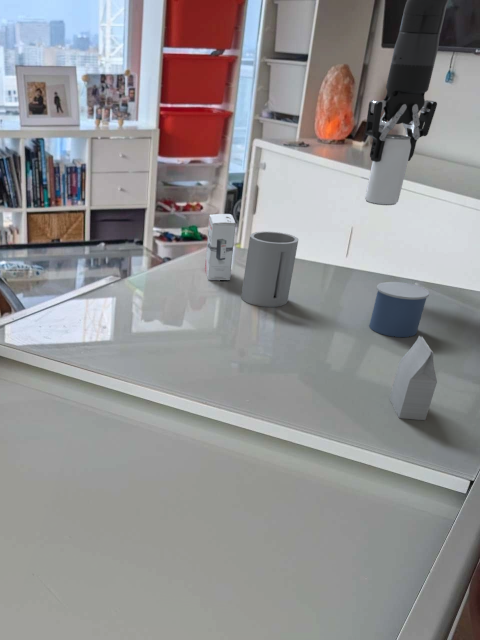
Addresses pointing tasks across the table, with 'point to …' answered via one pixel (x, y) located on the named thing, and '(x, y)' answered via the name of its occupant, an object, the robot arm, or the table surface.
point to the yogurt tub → (398, 309)
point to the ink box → (220, 246)
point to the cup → (269, 268)
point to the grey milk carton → (414, 382)
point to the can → (389, 171)
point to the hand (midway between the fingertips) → (390, 160)
